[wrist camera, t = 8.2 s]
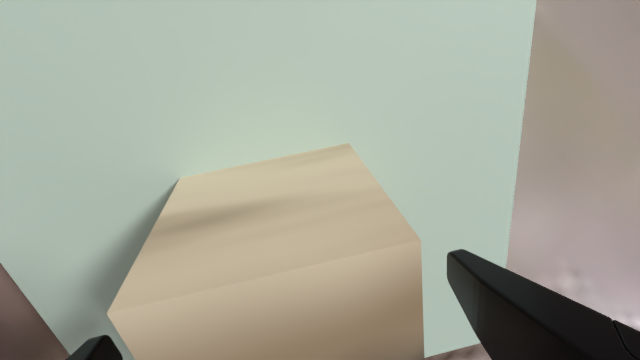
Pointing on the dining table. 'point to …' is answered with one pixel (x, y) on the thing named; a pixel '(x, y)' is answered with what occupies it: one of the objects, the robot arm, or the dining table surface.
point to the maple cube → (277, 267)
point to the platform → (249, 127)
